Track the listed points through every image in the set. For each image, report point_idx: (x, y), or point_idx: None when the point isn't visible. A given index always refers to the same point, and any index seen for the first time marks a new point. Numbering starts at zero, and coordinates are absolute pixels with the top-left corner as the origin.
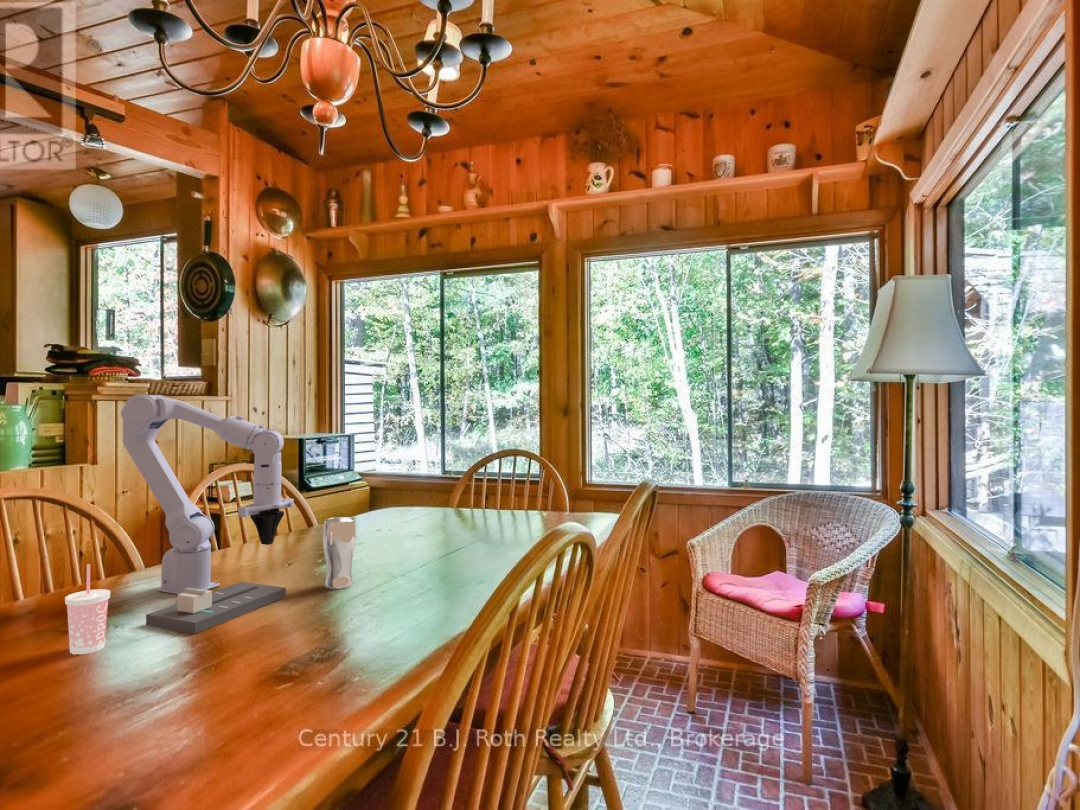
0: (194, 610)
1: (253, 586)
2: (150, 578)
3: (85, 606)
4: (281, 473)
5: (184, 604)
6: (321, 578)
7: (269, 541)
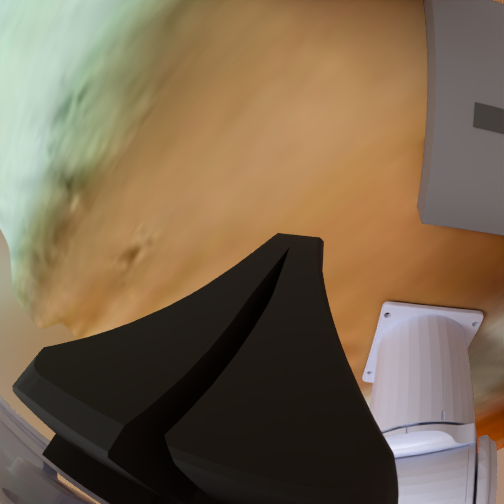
0: None
1: (466, 134)
2: None
3: None
4: None
5: None
6: (169, 45)
7: (313, 244)
